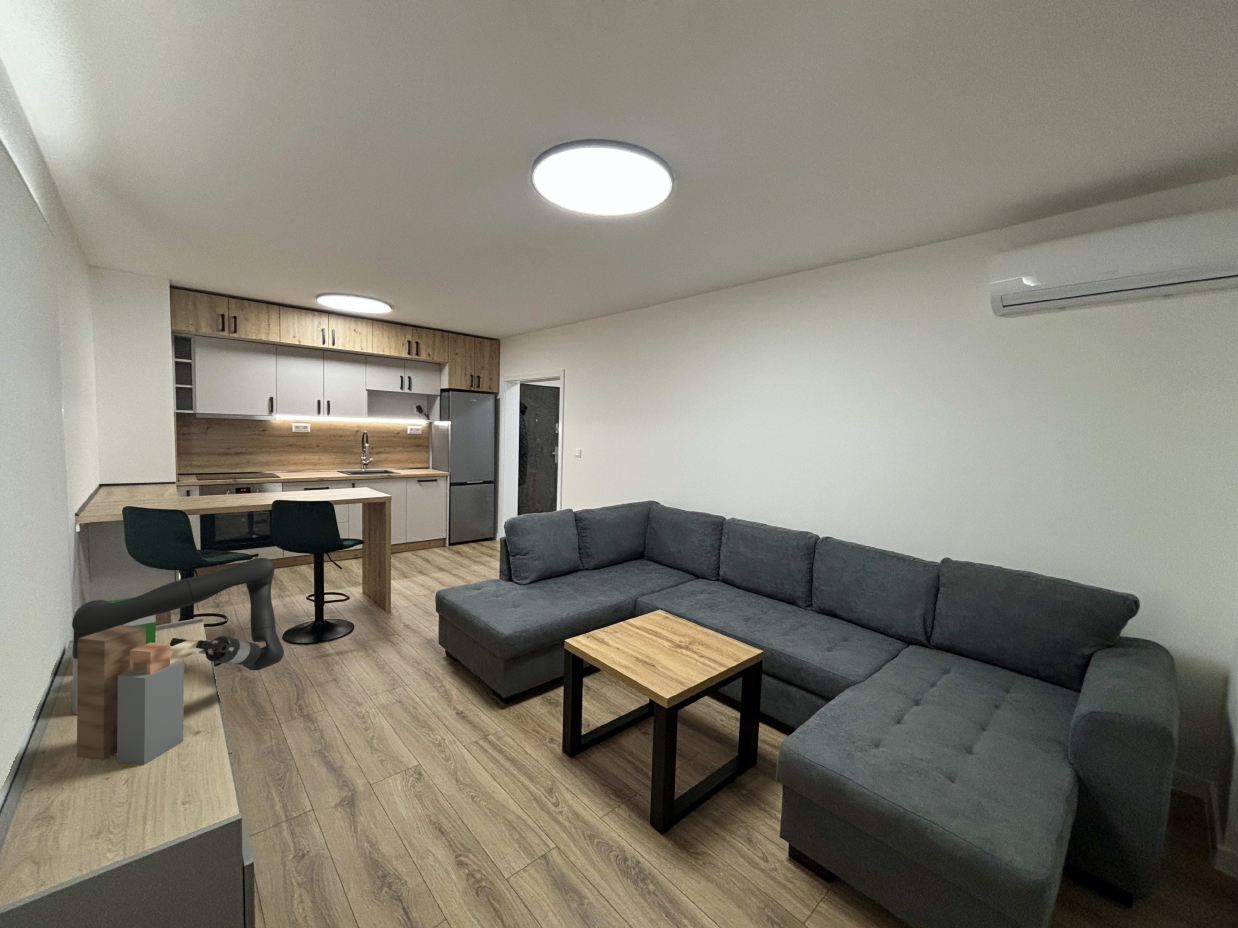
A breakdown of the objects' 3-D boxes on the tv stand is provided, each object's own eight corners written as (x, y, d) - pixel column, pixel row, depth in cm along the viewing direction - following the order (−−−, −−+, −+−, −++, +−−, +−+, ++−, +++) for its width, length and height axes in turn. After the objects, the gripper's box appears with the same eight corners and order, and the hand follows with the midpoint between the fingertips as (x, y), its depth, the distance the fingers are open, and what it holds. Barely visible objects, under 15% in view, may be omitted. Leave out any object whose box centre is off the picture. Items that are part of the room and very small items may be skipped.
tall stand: (119, 734, 136) (120, 624, 135) (144, 737, 135) (146, 626, 135) (76, 757, 126) (77, 638, 125) (103, 760, 125) (104, 640, 125)
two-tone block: (189, 647, 142) (190, 628, 142) (208, 649, 142) (208, 629, 142) (130, 672, 126) (130, 650, 126) (150, 673, 126) (150, 651, 126)
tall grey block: (157, 738, 135) (158, 659, 134) (182, 741, 134) (183, 661, 134) (117, 761, 125) (117, 675, 124) (144, 764, 124) (145, 678, 124)
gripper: (214, 636, 154) (169, 627, 140) (254, 639, 153) (213, 631, 139) (202, 661, 151) (155, 654, 137) (243, 664, 149) (200, 658, 135)
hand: (184, 642), depth 138 cm, fingers open, 8 cm apart
